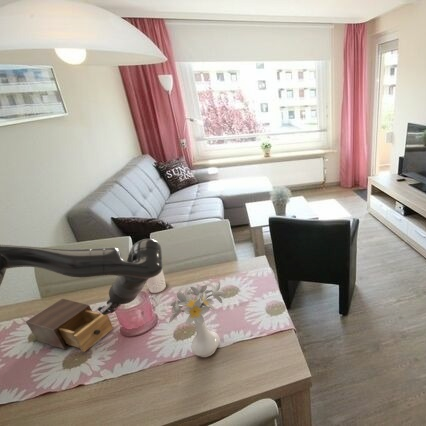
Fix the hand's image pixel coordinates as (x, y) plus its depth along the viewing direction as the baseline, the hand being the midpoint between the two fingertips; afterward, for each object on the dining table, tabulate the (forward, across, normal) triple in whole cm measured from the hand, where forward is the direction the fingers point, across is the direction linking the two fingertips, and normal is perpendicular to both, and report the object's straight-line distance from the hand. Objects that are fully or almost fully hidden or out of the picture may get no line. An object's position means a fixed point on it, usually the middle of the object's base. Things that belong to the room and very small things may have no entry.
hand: (111, 309), depth 96 cm
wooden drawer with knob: (+27, 0, -2) cm, 27 cm away
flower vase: (-5, -8, +32) cm, 34 cm away
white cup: (+25, -30, +2) cm, 40 cm away
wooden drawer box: (+35, 0, -8) cm, 36 cm away
